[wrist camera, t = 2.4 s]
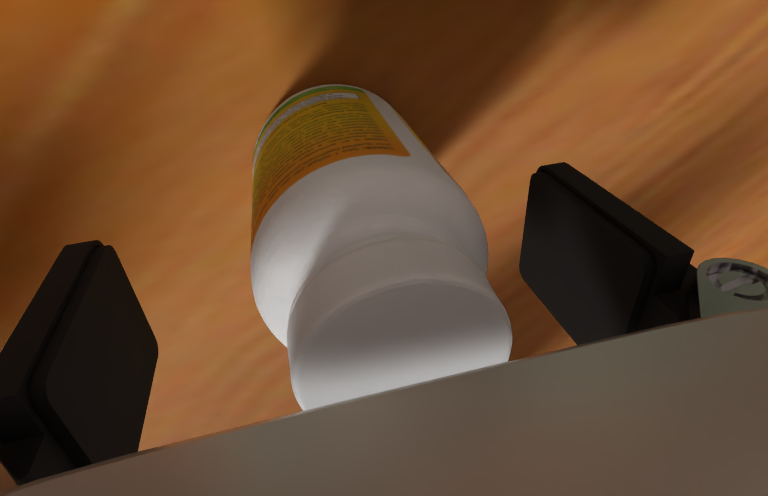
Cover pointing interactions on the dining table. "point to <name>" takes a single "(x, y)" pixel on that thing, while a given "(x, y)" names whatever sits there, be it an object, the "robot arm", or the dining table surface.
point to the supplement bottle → (366, 251)
